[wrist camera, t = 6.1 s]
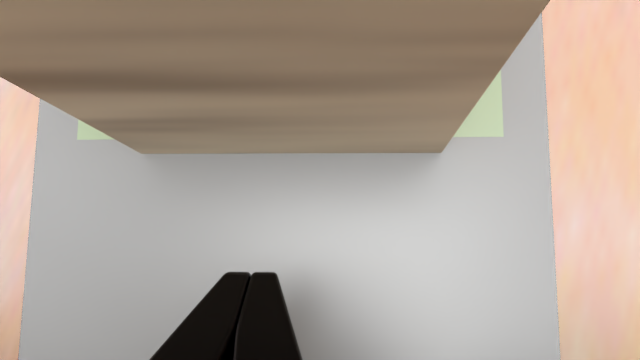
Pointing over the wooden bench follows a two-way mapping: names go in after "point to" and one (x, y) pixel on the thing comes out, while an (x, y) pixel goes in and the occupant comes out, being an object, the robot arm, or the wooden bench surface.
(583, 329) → the wooden bench surface
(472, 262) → the trap deck
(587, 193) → the wooden bench surface
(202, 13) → the birch block
